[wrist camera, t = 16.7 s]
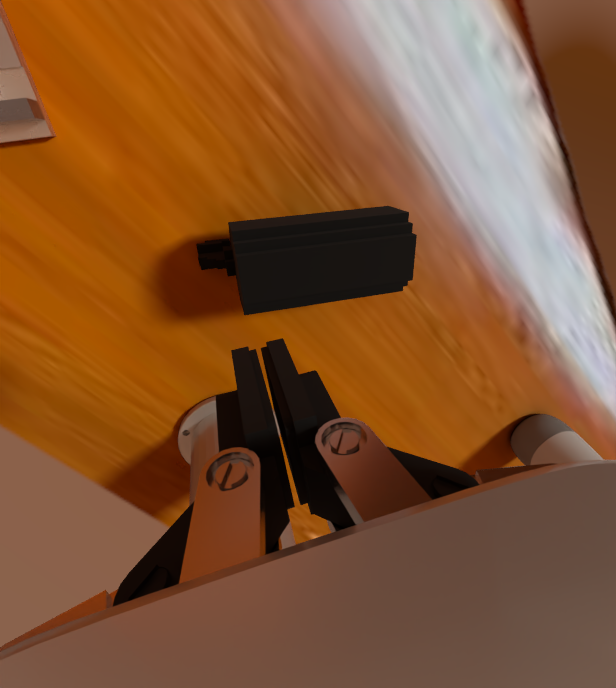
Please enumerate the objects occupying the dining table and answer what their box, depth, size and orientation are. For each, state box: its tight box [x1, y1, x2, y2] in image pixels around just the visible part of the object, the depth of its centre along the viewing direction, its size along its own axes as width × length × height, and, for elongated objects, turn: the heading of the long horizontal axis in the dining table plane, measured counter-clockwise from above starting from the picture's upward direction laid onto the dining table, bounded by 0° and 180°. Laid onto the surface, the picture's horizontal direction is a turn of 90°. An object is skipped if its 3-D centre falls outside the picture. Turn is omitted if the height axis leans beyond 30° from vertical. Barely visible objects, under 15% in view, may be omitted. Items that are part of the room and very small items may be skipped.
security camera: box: [197, 206, 417, 315], centre depth 33 cm, size 7×18×10 cm, turn 93°
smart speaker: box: [511, 414, 604, 466], centre depth 57 cm, size 10×9×14 cm
